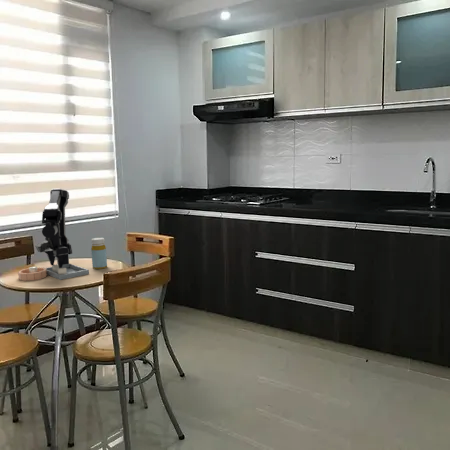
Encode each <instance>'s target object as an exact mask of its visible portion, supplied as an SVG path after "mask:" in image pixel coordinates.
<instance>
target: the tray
mask: <svg viewBox="0 0 450 450" xmlns="http://www.w3.org/2000/svg"><path fill="white" fill-rule="evenodd" d="M45 268H46V269H47V276H49V277H52V278H55V279H57V280H66V279H73V278H75V277H80V276H85V275H90V271H89V269H88V268H84V267H81V266H79V265H76V264H72V263H69V264H65V265H63V266H62V268H66V271H67V274H63V275H59V274H57V273H54V272H53V270H52V266H50V267H45Z"/></svg>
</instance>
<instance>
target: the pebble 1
mask: <svg viewBox="0 0 450 450" xmlns="http://www.w3.org/2000/svg"><path fill="white" fill-rule="evenodd" d="M37 267H38V266H30V267H28V268H29V273H35V272H38V270H37Z"/></svg>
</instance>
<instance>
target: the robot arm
mask: <svg viewBox="0 0 450 450" xmlns="http://www.w3.org/2000/svg"><path fill="white" fill-rule="evenodd" d="M69 199H70V192H69V191H68V190H66V189H62V188H51V190H50V198H49V202H48V204H47V205H46V206H44V208H43V209H44V210H42V213H41V214H42V217H41V224H42V225H44V226H43V228H42V229H41V234H42V236H43V237H45V239H44V240H43V241H41V242H39V243H36V244H35V246H34V247H35V249H36V251H37V253H44V254H46V256H47V259H48V261H49V263H50V265H51V266H52V265H55V261H57V263H56V264H58V266H59V268H62V266H63V265H65V264H70V258H69V257H70V256H69V255H72V254H73V247H72V244H71V243H70V240H69V239H68V237H67V236H66V206H67V205H68V203H69ZM55 259H56V260H55Z"/></svg>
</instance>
